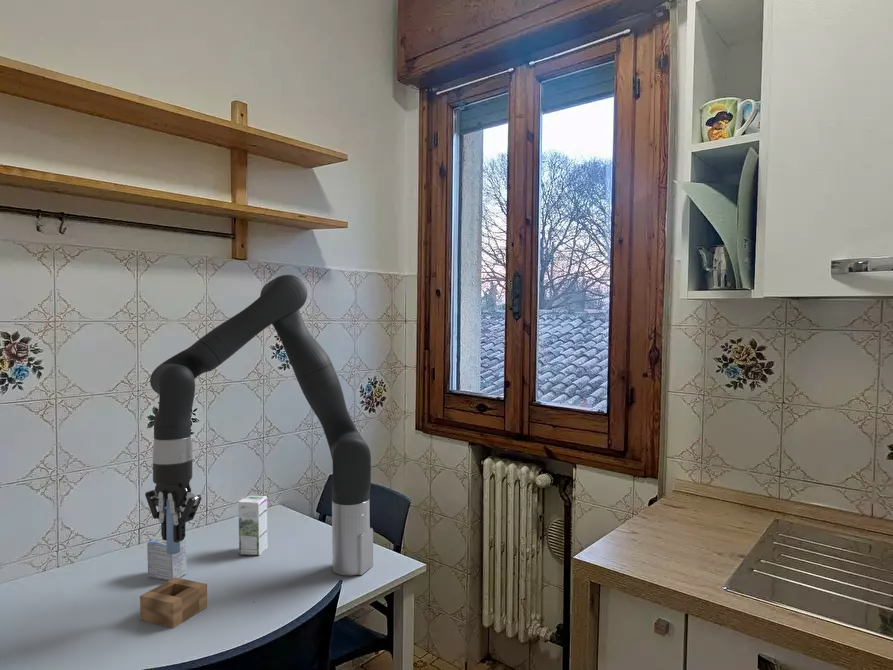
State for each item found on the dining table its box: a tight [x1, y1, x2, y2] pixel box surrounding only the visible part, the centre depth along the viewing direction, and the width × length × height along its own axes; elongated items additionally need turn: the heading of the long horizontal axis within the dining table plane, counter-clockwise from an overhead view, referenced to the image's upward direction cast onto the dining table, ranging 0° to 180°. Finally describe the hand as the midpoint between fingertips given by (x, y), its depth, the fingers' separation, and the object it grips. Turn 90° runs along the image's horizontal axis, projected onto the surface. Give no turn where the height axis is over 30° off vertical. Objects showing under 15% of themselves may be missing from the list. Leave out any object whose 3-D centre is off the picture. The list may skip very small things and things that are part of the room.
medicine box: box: [146, 535, 187, 581], centre depth 136 cm, size 8×4×9 cm, turn 71°
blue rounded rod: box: [166, 499, 181, 554], centre depth 118 cm, size 3×3×12 cm
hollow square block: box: [139, 577, 208, 629], centre depth 118 cm, size 9×9×5 cm
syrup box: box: [237, 495, 269, 556], centre depth 150 cm, size 6×6×14 cm
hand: (173, 539), depth 118 cm, fingers closed on blue rounded rod, 2 cm apart
